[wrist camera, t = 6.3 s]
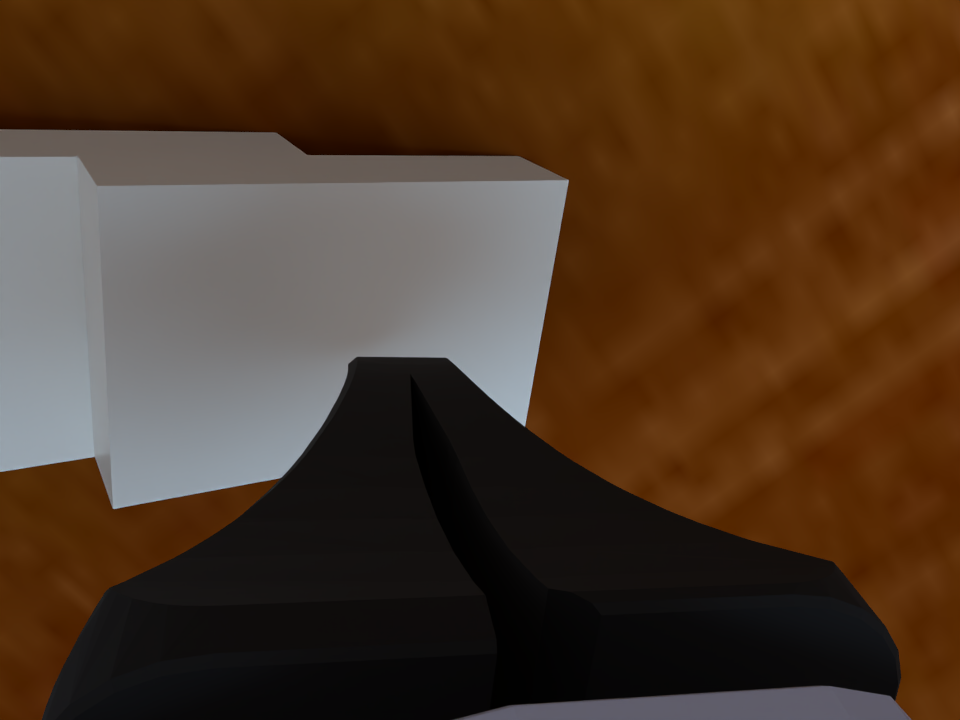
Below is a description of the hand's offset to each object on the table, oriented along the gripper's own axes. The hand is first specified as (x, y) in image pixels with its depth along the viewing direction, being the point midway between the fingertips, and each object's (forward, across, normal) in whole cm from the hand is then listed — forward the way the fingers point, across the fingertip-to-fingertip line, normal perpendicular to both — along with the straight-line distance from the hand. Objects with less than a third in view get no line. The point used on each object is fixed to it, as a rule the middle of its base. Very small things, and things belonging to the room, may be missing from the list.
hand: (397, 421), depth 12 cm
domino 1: (+5, -3, 0) cm, 5 cm away
